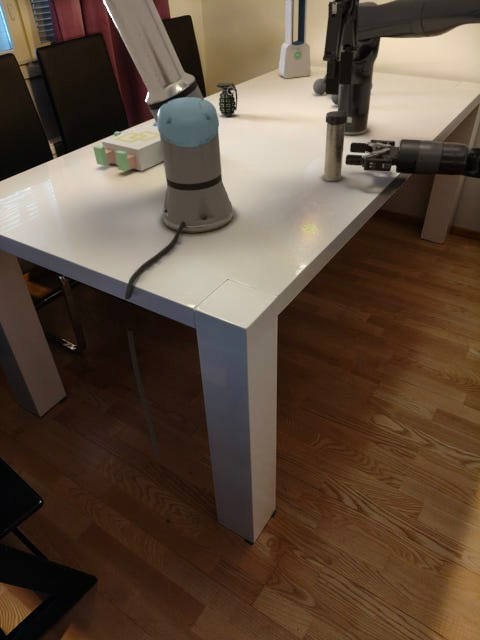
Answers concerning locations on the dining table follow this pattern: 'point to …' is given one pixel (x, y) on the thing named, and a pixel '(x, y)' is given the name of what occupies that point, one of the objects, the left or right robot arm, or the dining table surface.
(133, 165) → the decorative block
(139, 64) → the left robot arm
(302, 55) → the electronic device
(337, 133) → the grey metal cylinder
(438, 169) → the right robot arm
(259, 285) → the dining table surface
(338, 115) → the lid
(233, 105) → the grenade
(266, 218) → the dining table surface
